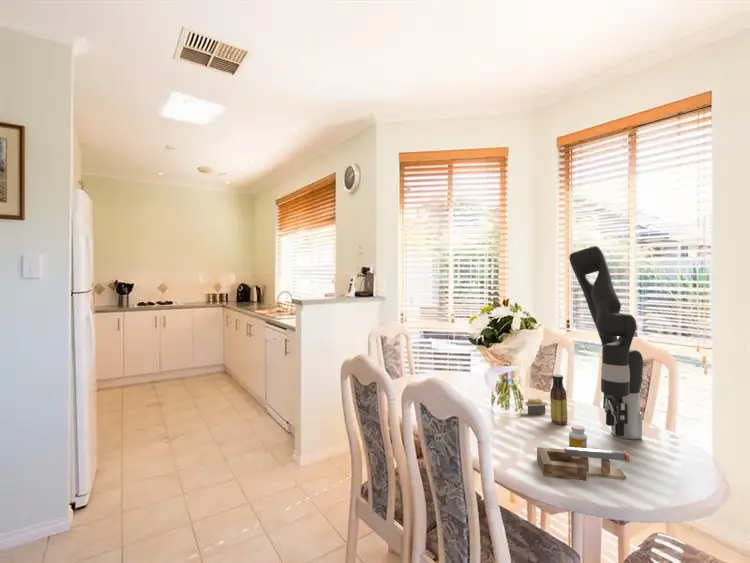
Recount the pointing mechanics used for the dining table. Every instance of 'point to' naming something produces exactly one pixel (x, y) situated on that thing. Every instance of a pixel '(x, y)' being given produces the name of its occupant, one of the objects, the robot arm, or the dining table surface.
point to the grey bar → (597, 453)
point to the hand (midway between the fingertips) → (614, 430)
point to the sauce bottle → (558, 401)
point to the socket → (560, 464)
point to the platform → (535, 406)
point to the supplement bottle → (577, 437)
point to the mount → (603, 469)
